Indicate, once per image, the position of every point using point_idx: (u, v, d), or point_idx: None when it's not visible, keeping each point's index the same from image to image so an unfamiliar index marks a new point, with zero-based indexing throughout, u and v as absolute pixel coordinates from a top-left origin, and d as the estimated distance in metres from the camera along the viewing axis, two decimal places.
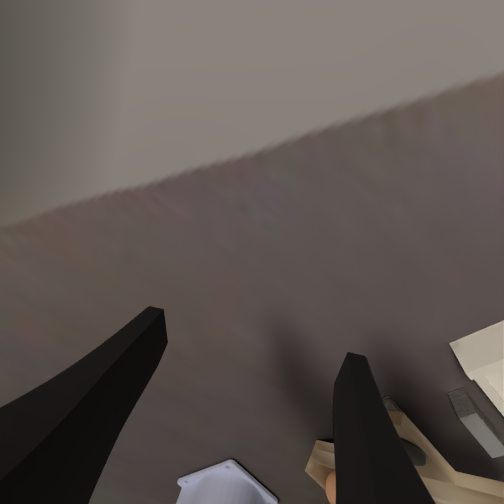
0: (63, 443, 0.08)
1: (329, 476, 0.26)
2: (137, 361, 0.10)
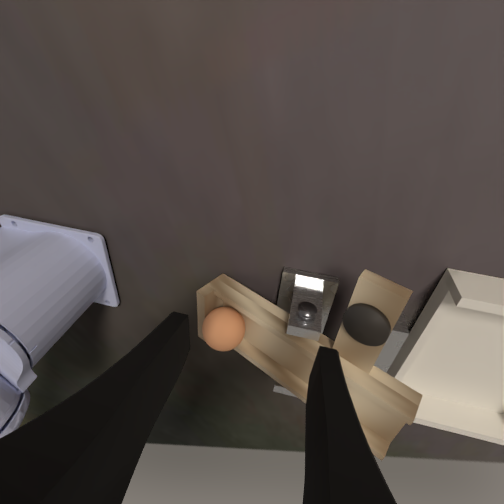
0: (100, 454, 0.07)
1: (219, 309, 0.22)
2: (163, 368, 0.10)
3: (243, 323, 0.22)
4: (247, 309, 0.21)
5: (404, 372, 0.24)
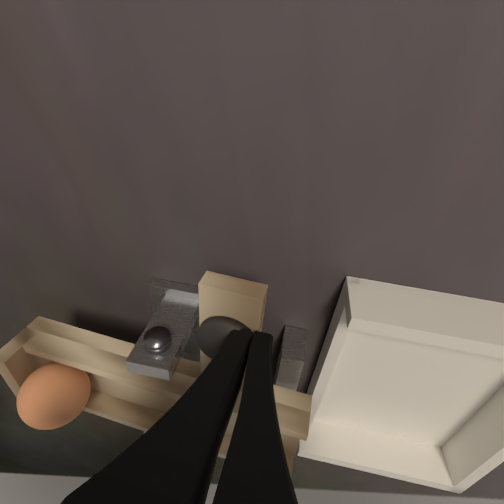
0: (196, 484, 0.07)
1: (38, 372, 0.15)
2: (234, 386, 0.10)
3: (82, 375, 0.16)
4: (77, 360, 0.15)
5: (316, 404, 0.19)
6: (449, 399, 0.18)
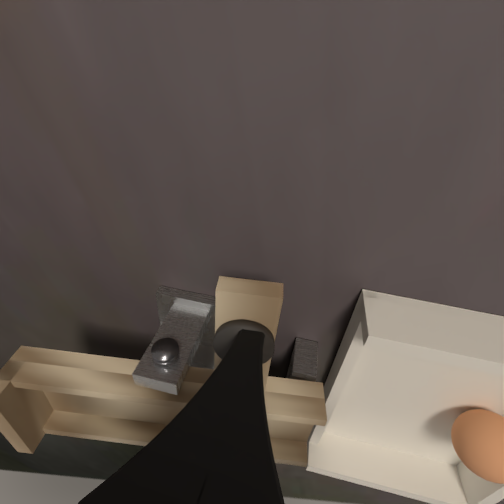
0: None
1: (501, 439, 0.14)
2: None
3: (478, 409, 0.16)
4: (78, 386, 0.14)
5: (327, 419, 0.18)
6: None
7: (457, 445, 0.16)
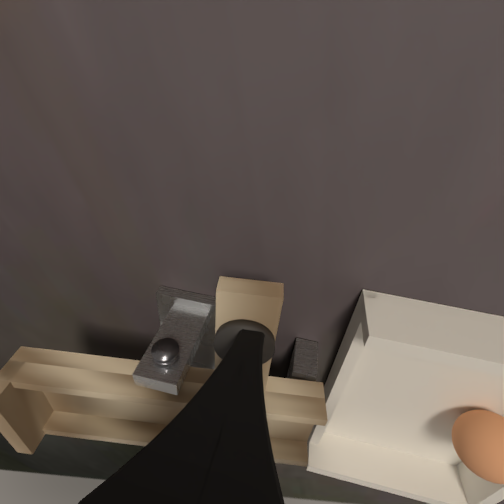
0: None
1: (501, 440, 0.14)
2: None
3: None
4: (78, 387, 0.14)
5: None
6: None
7: (458, 446, 0.16)
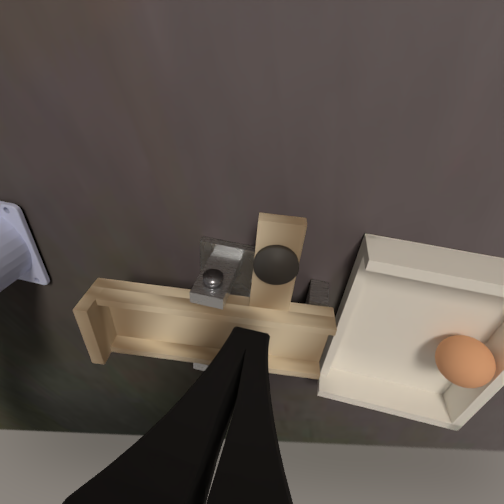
0: (197, 485, 0.07)
1: (471, 351, 0.18)
2: (235, 386, 0.10)
3: None
4: (147, 304, 0.18)
5: (335, 349, 0.23)
6: None
7: (438, 360, 0.20)
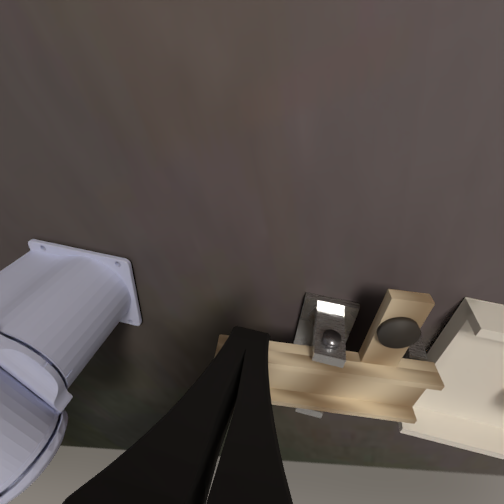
0: (197, 484, 0.07)
1: None
2: (235, 386, 0.10)
3: None
4: (272, 361, 0.20)
5: None
6: None
7: None
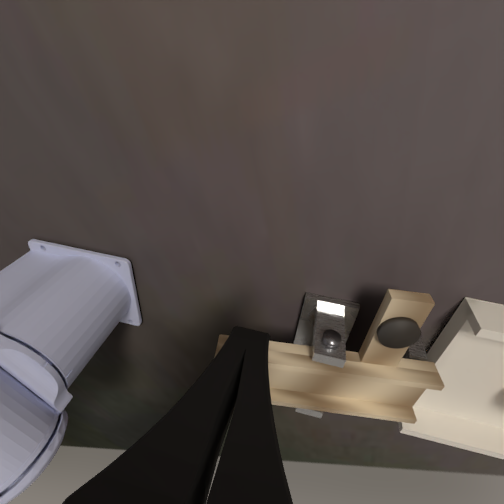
0: (197, 484, 0.07)
1: None
2: (235, 386, 0.10)
3: None
4: (272, 361, 0.20)
5: None
6: None
7: None
